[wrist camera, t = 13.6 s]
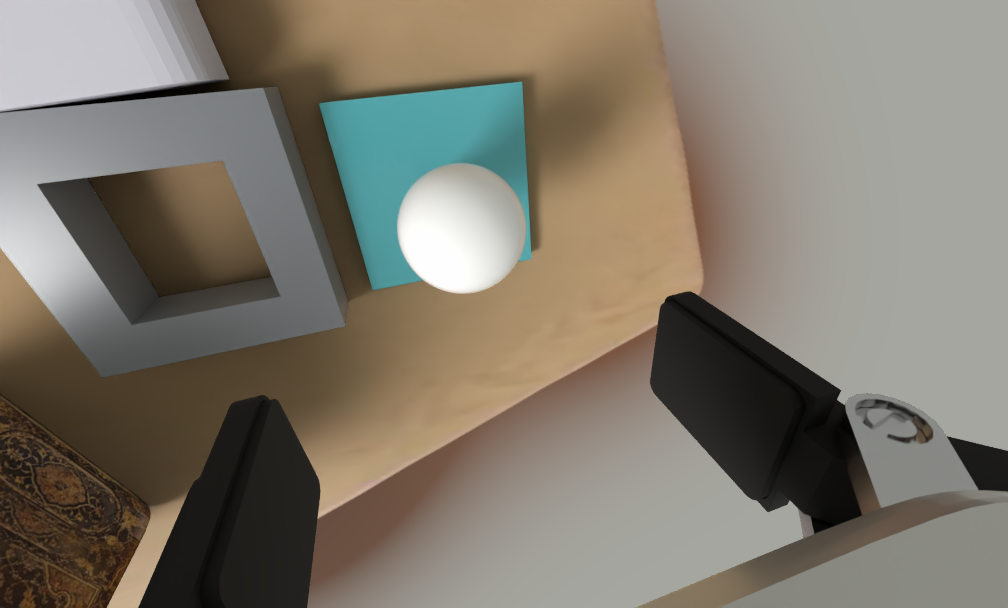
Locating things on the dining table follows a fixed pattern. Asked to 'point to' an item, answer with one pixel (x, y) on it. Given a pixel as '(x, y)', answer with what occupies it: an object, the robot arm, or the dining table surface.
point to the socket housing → (108, 259)
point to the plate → (420, 157)
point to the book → (60, 521)
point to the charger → (100, 50)
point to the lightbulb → (461, 228)
